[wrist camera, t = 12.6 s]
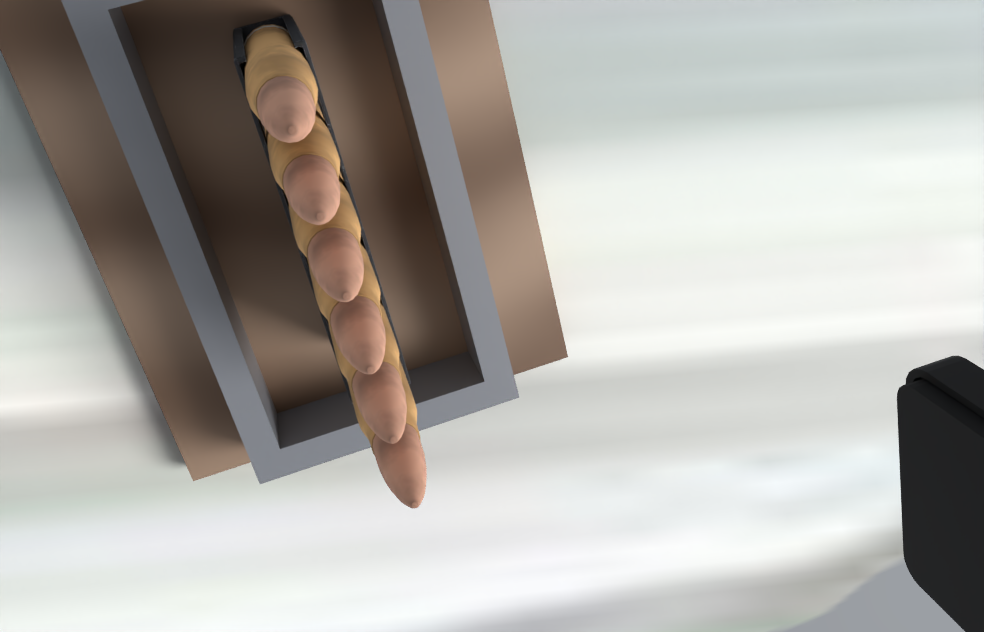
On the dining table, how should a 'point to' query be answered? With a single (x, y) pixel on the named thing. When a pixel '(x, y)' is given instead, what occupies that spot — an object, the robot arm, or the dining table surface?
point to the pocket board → (264, 224)
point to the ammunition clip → (332, 243)
